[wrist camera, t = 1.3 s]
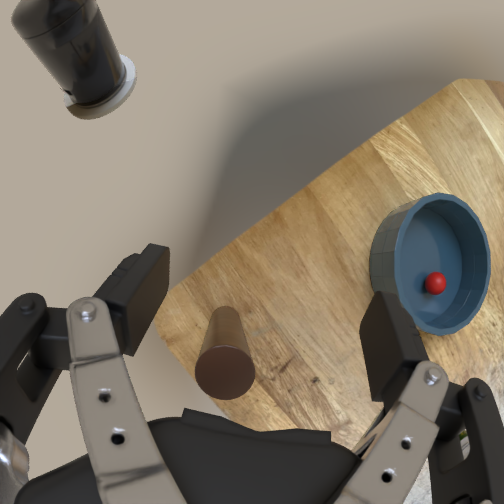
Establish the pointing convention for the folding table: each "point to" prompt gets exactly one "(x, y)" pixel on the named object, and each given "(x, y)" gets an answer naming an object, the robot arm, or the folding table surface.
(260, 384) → the folding table surface
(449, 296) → the mixing bowl
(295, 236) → the folding table surface
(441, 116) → the folding table surface
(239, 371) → the brown wooden rod
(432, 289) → the cherry
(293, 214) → the folding table surface
